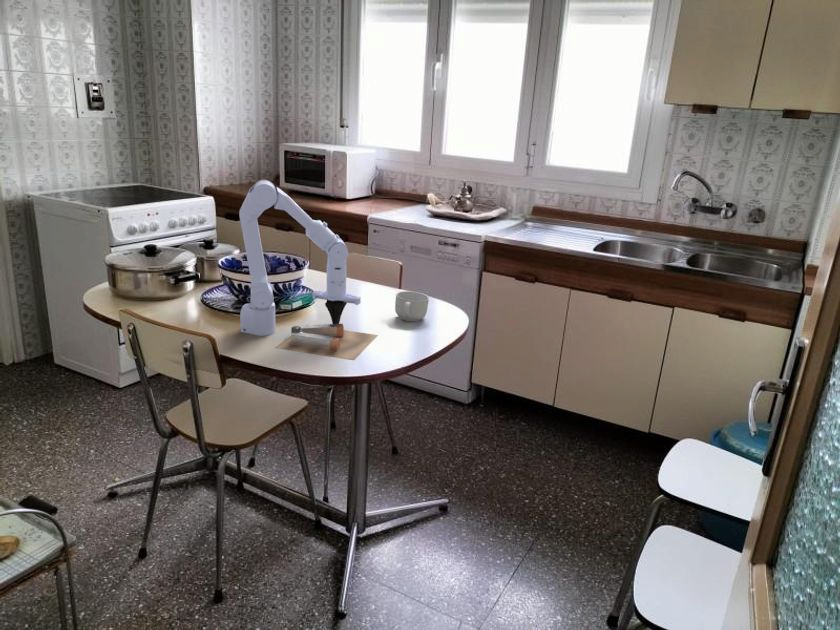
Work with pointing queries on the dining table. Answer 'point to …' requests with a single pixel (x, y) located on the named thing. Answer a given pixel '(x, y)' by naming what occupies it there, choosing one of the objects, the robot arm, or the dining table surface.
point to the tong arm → (324, 329)
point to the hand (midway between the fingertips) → (336, 324)
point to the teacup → (411, 305)
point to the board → (349, 345)
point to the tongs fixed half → (314, 340)
